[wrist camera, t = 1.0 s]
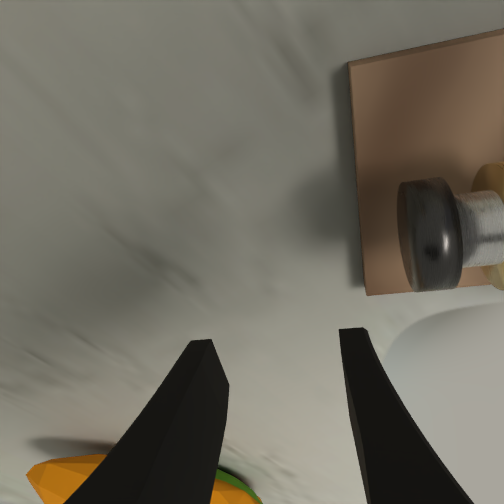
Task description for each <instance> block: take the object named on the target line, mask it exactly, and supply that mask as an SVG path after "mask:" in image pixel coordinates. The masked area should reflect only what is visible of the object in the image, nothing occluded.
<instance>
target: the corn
mask: <svg viewBox="0 0 504 504" xmlns="http://www.w3.org/2000/svg"><path fill="white" fill-rule="evenodd" d="M106 456H107V455H104V454H94V455H85V456H76V457H67V458H58V459H51V460H48V461H45V462H42V463H40V464H37V465H34V466H33V467H32V468H31V469H30V471H29V472H28V473H27V474H26V476H27V478H28V480H29V482H30V483H31V485H32V486H33V488H34V489H35V490H36V492H37V493H38V495H39V496H40V498H41V499H42V501H43V502H44V504H63V503H64V502H65V501H66V500H67V499H68V498H69V497H70V496H71V495H72V494H73V493H74V492H75V491H76V490H77V488H78V487H79V486H80V485H81V484H82V483H83V482H84V481H85V480H86V479H87V478H88V477H89V476H90V474H91V473H92V472H93V471H94V470H95V469H96V468H97V466H98V465H99V464H100V463H101V462H102V461H103V460H104V458H105V457H106ZM210 504H263V503H262V501H261V499H260V498H259V497H258V496H257V495H256V494H255V493H254V491H253V490H252V489H250V488H249V487H248V486H247V485H245V484H244V483H243V482H241V481H240V480H238V479H237V478H235V477H233V476H231V475H229V474H227V473H225V472H223V471H221V470H219V469H217V472H216V477H215V482H214V486H213V491H212V496H211V501H210Z"/></svg>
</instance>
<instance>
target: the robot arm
mask: <svg viewBox="0 0 504 504" xmlns="http://www.w3.org/2000/svg"><path fill="white" fill-rule="evenodd" d="M339 337H340V347H341V356H342V363H343V371H344V378H345V386H346V393H347V401H348V408H349V416H350V421H351V426H352V431H353V436H354V441H355V446H356V451H357V456H358V460H359V465H360V470H361V475H362V480H363V485H364V490H365V494H366V499H367V504H474V503H473V502H472V500H471V499H470V498H469V496H468V495H467V494H466V493H465V491H464V490H463V489H462V488H461V486H460V485H459V484H458V483H457V481H456V480H455V478H454V477H453V476H452V474H451V473H450V472H449V470H448V469H447V468H446V466H445V465H444V464H443V462H442V461H441V460H440V458H439V457H438V455H437V454H436V453H435V451H434V450H433V448H432V447H431V445H430V444H429V442H428V441H427V440H426V438H425V437H424V435H423V434H422V432H421V431H420V429H419V428H418V426H417V425H416V423H415V422H414V420H413V418H412V417H411V415H410V414H409V412H408V410H407V409H406V407H405V406H404V404H403V402H402V401H401V399H400V397H399V395H398V394H397V392H396V390H395V389H394V387H393V385H392V384H391V382H390V380H389V378H388V376H387V374H386V373H385V371H384V369H383V367H382V365H381V363H380V361H379V359H378V356H377V354H376V352H375V350H374V348H373V345H372V343H371V340H370V337H369V334H368V331H367V330H366V329H364V328H363V327H362V328H349V329H339ZM228 397H229V383H228V380H227V378H226V375H225V373H224V370H223V367H222V365H221V362H220V360H219V357H218V355H217V352H216V350H215V347H214V345H213V342H212V339H205V340H192V341H190V342H189V344H188V345H187V347H186V348H185V350H184V351H183V352H182V354H181V355H180V357H179V358H178V360H177V361H176V363H175V364H174V366H173V367H172V369H171V370H170V372H169V373H168V375H167V376H166V378H165V379H164V381H163V382H162V384H161V385H160V387H159V388H158V389H157V391H156V392H155V394H154V395H153V396H152V398H151V399H150V401H149V402H148V403H147V405H146V406H145V408H144V409H143V410H142V412H141V413H140V414H139V416H138V417H137V418H136V420H135V421H134V422H133V423H132V425H131V426H130V427H129V429H128V430H127V431H126V433H125V434H124V435H123V436H122V438H121V439H120V440H119V442H118V443H117V444H116V445H115V446H114V448H113V449H112V450H111V451H110V452H109V454H108V455H107V456H106V457H105V458H104V460H103V461H102V462H101V463H100V464H99V465H98V466H97V468H96V469H95V470H94V471H93V472H92V473H91V474H90V476H89V477H88V478H87V479H86V480H85V481H84V482H83V483H82V484H81V485H80V486H79V487H78V488H77V490H76V491H75V492H74V493H73V494H72V495H71V496H70V497H69V498H68V499H67V500H66V501H65V502H64V503H63V504H210V501H211V496H212V491H213V486H214V482H215V477H216V472H217V467H218V462H219V457H220V452H221V447H222V442H223V437H224V431H225V426H226V420H227V410H228Z"/></svg>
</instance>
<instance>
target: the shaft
mask: <svg viewBox="0 0 504 504" xmlns="http://www.w3.org/2000/svg"><path fill="white" fill-rule="evenodd" d="M397 226H398V236H399V244H400V250H401V256H402V261H403V265H404V269H405V273H406V276H407V279H408V282H409V284H410V287H411V288H412V290H413V291H414V292H425V291H436V290H447V289H454V288H456V287H457V285H458V283H459V281H460V278H461V273H462V268H466V267H476V266H480V267H481V269H482V271H483V273H484V275H485V276H486V278H487V279H488V281H489V282H490V283H491V284H492V285H493V286H494V287H496V288H497V289H500V290H504V161H502V162H495V163H489V164H485V165H483V166H482V167H481V168H480V169H479V171H478V172H477V174H476V176H475V178H474V181H473V185H472V189H471V192H470V193H463V194H456V195H453V193H452V191H451V189H450V187H449V185H448V183H447V182H446V181H445V180H444V179H443V178H442V177H434V178H427V179H421V180H414V181H407V182H402V183H401V184H400V185H399V189H398V194H397Z"/></svg>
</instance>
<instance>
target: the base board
mask: <svg viewBox="0 0 504 504" xmlns="http://www.w3.org/2000/svg"><path fill="white" fill-rule="evenodd" d="M348 71H349V85H350V99H351V112H352V126H353V139H354V153H355V167H356V180H357V194H358V207H359V221H360V235H361V248H362V262H363V275H364V285H365V290H366V295H367V296H371V295H382V294H393V293H404V292H414V291H413V290H412V288H411V287H410V284H409V282H408V279H407V276H406V273H405V269H404V265H403V261H402V256H401V250H400V244H399V236H398V226H397V194H398V189H399V185H400V184H401V183H402V182H407V181H414V180H421V179H427V178H434V177H442V178H443V179H444V180H445V181H446V182H447V183H448V185H449V187H450V189H451V191H452V193H453V195H456V194H463V193H470V192H471V189H472V185H473V181H474V178H475V176H476V174H477V172H478V171H479V169H480V168H481V167H482V166H483V165H485V164H489V163H495V162H502V161H504V29H500V30H495V31H491V32H486V33H481V34H477V35H472V36H467V37H463V38H458V39H453V40H449V41H444V42H439V43H435V44H430V45H425V46H421V47H416V48H411V49H407V50H402V51H397V52H393V53H388V54H383V55H379V56H374V57H369V58H365V59H360V60H355V61H351V62H348ZM490 284H491V283H490V282H489V281H488V279H487V278H486V276H485V275H484V273H483V271H482V269H481V267H480V266H476V267H466V268H462V273H461V278H460V281H459V283H458V285H457V287H456V288H458V287H468V286H479V285H490Z"/></svg>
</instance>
